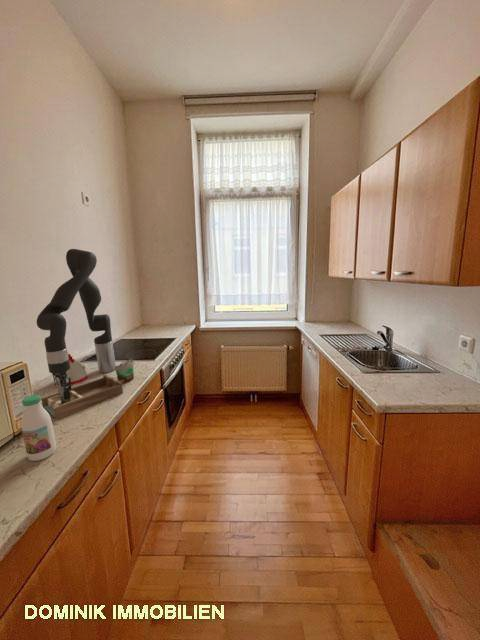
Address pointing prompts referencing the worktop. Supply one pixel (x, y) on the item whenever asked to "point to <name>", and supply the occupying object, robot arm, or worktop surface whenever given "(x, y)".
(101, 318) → the robot arm
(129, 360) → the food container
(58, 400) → the grey beige boxy piece
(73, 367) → the kitchen timer
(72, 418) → the worktop surface
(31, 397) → the milk bottle
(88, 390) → the bay
